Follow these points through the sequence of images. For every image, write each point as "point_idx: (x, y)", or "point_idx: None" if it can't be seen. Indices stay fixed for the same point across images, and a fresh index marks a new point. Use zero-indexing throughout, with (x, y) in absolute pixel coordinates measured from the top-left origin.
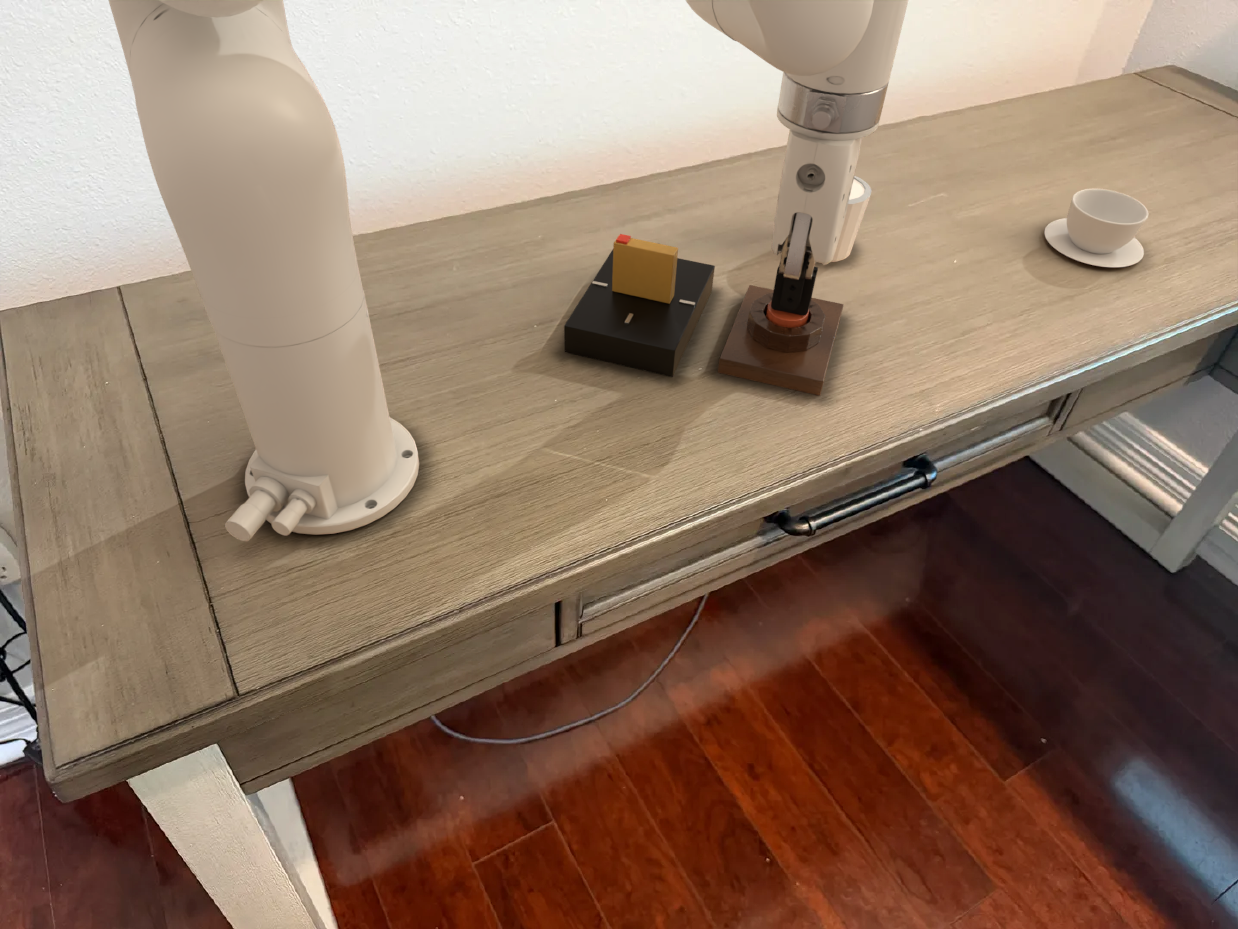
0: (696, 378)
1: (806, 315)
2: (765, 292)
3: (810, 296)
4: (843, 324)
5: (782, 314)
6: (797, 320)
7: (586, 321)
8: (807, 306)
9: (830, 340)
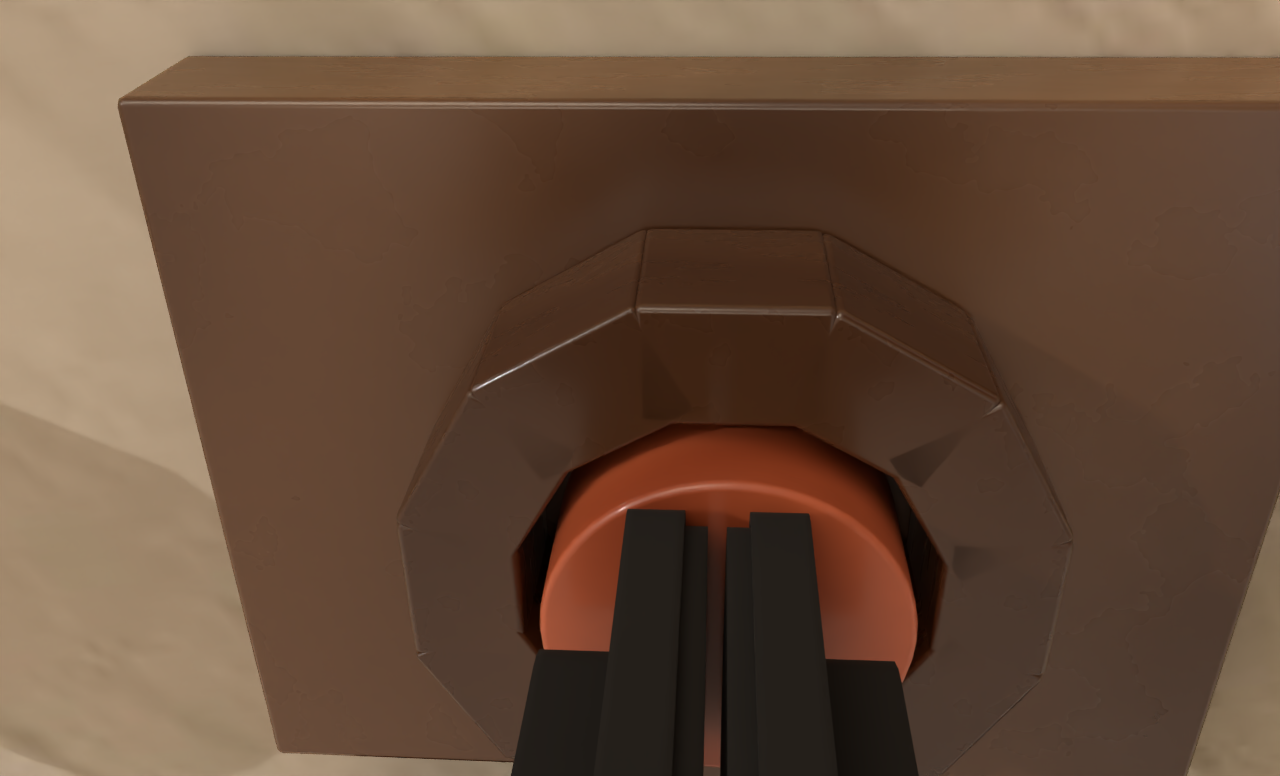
0: (1207, 772)
1: (791, 496)
2: (315, 664)
3: (819, 662)
4: (243, 13)
5: None
6: (884, 548)
7: None
8: (815, 578)
9: (750, 135)
